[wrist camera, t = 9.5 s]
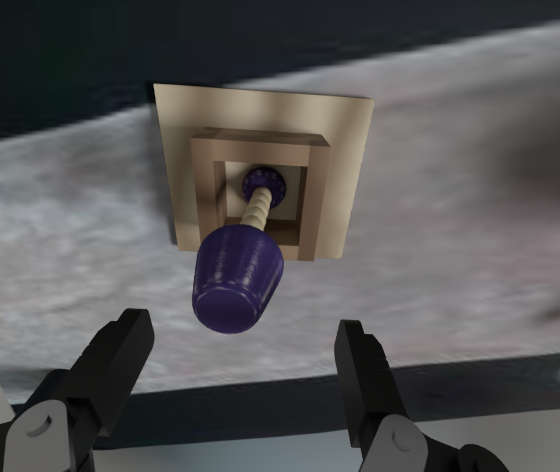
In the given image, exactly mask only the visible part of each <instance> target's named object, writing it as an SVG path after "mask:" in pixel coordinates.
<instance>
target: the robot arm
mask: <svg viewBox="0 0 560 472" xmlns="http://www.w3.org/2000/svg"><path fill="white" fill-rule="evenodd" d="M154 338H155V336H154V330H153V326H152V323H151V319H150V315H149V311H148V310H147V309H134V308H127V309H125V310H124V312H123V313H122V314H121V316H120V317H119V319H118V320H117V321H110V322H109V323H108V324H107V325H105V326H104V327H103V328H102V329H100V330H99V331H98V332H97V334H96V335H95V336H94V338H93V339H92V340H91V342H90V343H89V346H87V347H86V349H85V350H84V351H83V353H82V356H80V357H79V358H78V359H77V361H76V362H75V364H74V365H73V366H72V368H71V369H70V370H69V372H68V373H67V374H66V376H65V377H64V379H63V380H62V381H61V383H60V384H59V385H58V387H57V388H56V389H55V391H54V392H53V394H52V395H51V396H50V397H49V398H48V399H47V401H44V402H41V403H39V404H37V405H35V406H33V407H31V408H30V409H28V410H27V411H25V412H24V413H23V414H22V415H21V416H20V417H19V418H18V419H17V420H14V421H10V422H6V423H3V424H0V472H95V467H94V460H93V452H92V448H91V447H92V445H93V443H94V441H95V439H96V438H97V436H110V434H111V432H112V430H113V428H114V426H115V424H116V422H117V420H118V418H119V416H120V414H121V412H122V410H123V408H124V406H125V403H126V401H127V399H128V397H129V395H130V393H131V391H132V389H133V387H134V385H135V383H136V381H137V379H138V377H139V375H140V373H141V371H142V369H143V366H144V364H145V362H146V360H147V358H148V356H149V354H150V352H151V350H152V348H153V344H154ZM334 355H335V362H336V367H337V373H338V378H339V384H340V389H341V394H342V400H343V405H344V411H345V416H346V422H347V427H348V432H349V438H350V443H351V447H353V448H361V453H362V458H363V461H362V464H361V466H360V469H359V471H358V472H509V471H508V470H507V468H506V467H505V465H504V464H503V463H502V462H501V461H500V459H498V458H497V457H496V456H495V455H494V454H493V453H492V452H490V451H489V450H487V449H485V448H483V447H481V446H479V445H475V444H467V445H464V446H463V447H462V448H461V449H460V450H459V449H457V448H454V447H451V446H449V445H446V444H444V443H441V442H439V441H436V440H434V439H432V438H430V437H428V436H426V435H425V434H424V433H422V432H421V431H420V429H419V428H418V427H417V426H416V425H415V424H414V423H413V422H412V421H411V420H410V418H409V417H408V415H407V413H406V410H405V408H404V405H403V402H402V399H401V397H400V394H399V391H398V389H397V386H396V383H395V380H394V378H393V375H392V372H391V371H390V367H389V364H388V361H387V360H386V356H385V353H384V350H383V348H382V345H381V344H380V343H379V342H378V340H377V339H376V338H375V337H374V335H373V334H364V331H363V328H362V325H361V322H360V321H359V320H341V321H340V324H339V328H338V332H337V336H336V340H335V346H334Z"/></svg>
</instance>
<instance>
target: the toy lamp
mask: <svg viewBox="0 0 560 472" xmlns="http://www.w3.org/2000/svg"><path fill="white" fill-rule="evenodd" d="M242 193H243V196H244V198H245V200H246V201H247V203H248V205H247V208H246V211H245V212H244V214H243V217H242V221H241V222H240V224H231V225H224V226H222V227H220V228H218V229H215V230H214V231H213V232H211V233H210V234H209V235H208V236H207V237H206V238H205V239H204V240H203V242H202V243H201V245H200V247H199V250H198V254H197V260H196V267H195V275H194V284H193V293H192V306H193V310H194V313H195V315H196V317H197V318H198V319H199V321H200V322H201V323H202V324H203V325H205V326H206V327H207V328H209V329H211V330H213V331H216V332H220V333H223V334H236V333H241V332H244V331H246V330H248V329H250V328H251V327H252V326H253V325H254V324H255V323H256V322H257V321H258V320H259V319H260V317H261V315H262V314H263V312H264V310H265V308H266V306H267V304H268V303H269V301H270V299H271V297H272V295H273V293H274V291H275V289H276V287H277V286H278V283H279V281H280V279H281V277H282V273H283V268H284V260H283V256H282V252H281V250H280V248H279V246H278V245H277V243H276V242H275V240H274V239H273V238H272V237H270V236H269V235H268V234H267V233H265V232H264V226H265V224H266V218H267V216H268V210H270V209H273V208H275V207H277V206H278V205H279V204H280V203H281V202H282V200H283V199H284V197H285V193H286V184H285V181H284V179H283V177H282V175H281V174H280V173H279V172H278V171H276V170H274V169H272V168H270V167H257V168H254V169H252V170H250V171H249V172H248V173H247V174H246V175H245V177H244V179H243V182H242Z"/></svg>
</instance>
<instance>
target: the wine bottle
mask: <svg viewBox="0 0 560 472" xmlns="http://www.w3.org/2000/svg"><path fill="white" fill-rule="evenodd" d="M68 372H69V370H64V369H59V370H54V371H51V372H50V373H49V374H48V375H47V376H46V377H45V379H44V380H43V381H42V382H41V384H40V385H39V386H38V388H37V389H36V390H35V391H34V393H33V394H32V395H31V396H30V398H29V399H28V400H27V402H26V403H25V404H24V405H23V407H22V408H21V409H20V410H19V412H18V413H17V414H16V416H15V417H14V418H13V419H12V421H14V420H17V419H18V418H19V417H20V416H21V415H22V414H23V413H24V412H25V411H27V410H28V409H30V408H31V407H33V406H35V405H37V404H39V403H41V402H44V401H47V399H48V398H49V397H50V396H51V395H52V394H53V392H54V391H55V389H56V388H57V387H58V385H59V384H60V383H61V381H62V380H63V379H64V377H65V376H66V374H67V373H68Z"/></svg>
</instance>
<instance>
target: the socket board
mask: <svg viewBox="0 0 560 472" xmlns="http://www.w3.org/2000/svg"><path fill="white" fill-rule="evenodd" d="M154 90H155V97H156V104H157V110H158V117H159V124H160V130H161V137H162V144H163V150H164V157H165V164H166V170H167V177H168V184H169V190H170V197H171V204H172V210H173V217H174V224H175V230H176V237H177V244H178V250H179V251H195V252H198V250H199V247H200V245H201V243H202V242H203V240H204V239H205V238H206V237H207V236H208V235H209V234H210V233H211V232H213V231H214V230H215V229H218V228H220V227H222V226H224V225H231V224H240V222H241V221H242V217H243V214H244V212H245V211H246V208H247V205H248V203H247V201H246V200H245V198H244V196H243V193H242V182H243V179H244V177H245V175H246V174H247V173H248V172H249V171H250V170H252V169H254V168H257V167H270V168H272V169H274V170H276V171H278V172H279V173H280V174H281V175H282V177H283V179H284V181H285V184H286V193H285V197H284V199H283V200H282V202H281V203H280V204H279V205H278V206H277V207H275V208H273V209H270V210H268V216H267V218H266V224H265V226H264V232H265V233H267V234H268V235H269V236H270V237H272V238H273V239H274V240H275V242H276V243H277V245H278V246H279V248H280V250H281V252H282V256H283V260H299V261H314V258H334V259H341V256H342V252H343V247H344V242H345V238H346V233H347V228H348V224H349V219H350V214H351V210H352V205H353V200H354V195H355V191H356V186H357V181H358V177H359V172H360V167H361V163H362V158H363V153H364V149H365V144H366V139H367V135H368V130H369V125H370V121H371V116H372V111H373V106H374V102H375V99H369V98H355V97H341V96H327V95H313V94H298V93H284V92H270V91H256V90H242V89H228V88H213V87H199V86H185V85H171V84H154Z"/></svg>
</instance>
